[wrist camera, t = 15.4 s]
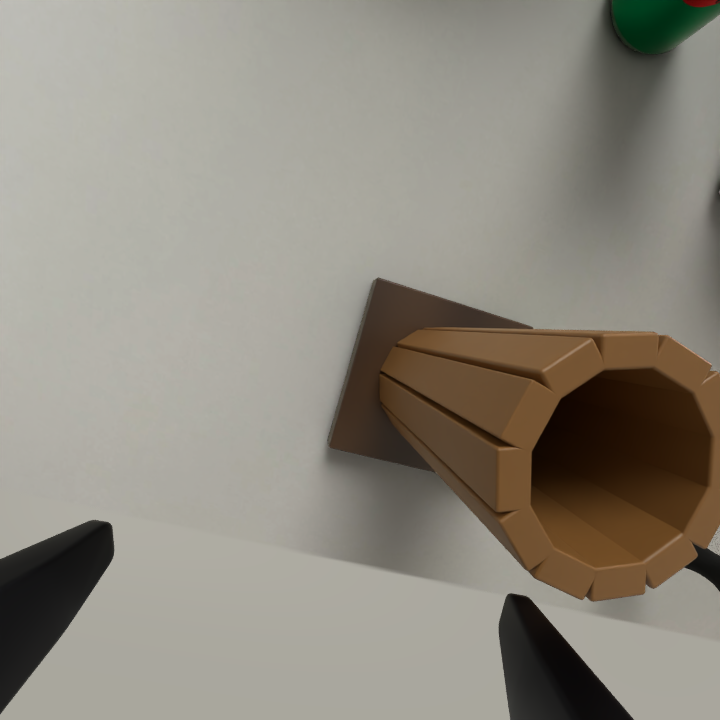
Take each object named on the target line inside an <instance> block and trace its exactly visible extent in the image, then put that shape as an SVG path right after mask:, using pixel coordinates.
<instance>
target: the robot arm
mask: <svg viewBox="0 0 720 720" xmlns="http://www.w3.org/2000/svg"><path fill="white" fill-rule="evenodd" d="M113 556H114V541H113V529H112V525H111V524H110V523H108V522H104V521H98V520H91V521H88V522H86V523H83V524H81V525H79V526H77V527H74V528H72V529H69V530H67V531H65V532H62V533H60V534H58V535H55V536H53V537H51V538H48V539H46V540H44V541H41V542H39V543H37V544H35V545H32V546H30V547H28V548H25V549H23V550H20V551H19V552H16V553H14V554H11V555H9V556H6V557H5V558H2V559H0V714H1V713H2V711H3V710H4V709H5V707H6V706H7V705H8V703H9V702H10V701H11V700H12V699H13V697H14V696H15V694H16V693H17V692H18V691H19V689H20V688H21V687H22V686H23V684H24V683H25V682H26V681H27V679H28V678H29V677H30V675H31V674H32V673H33V672H34V670H35V669H36V668H37V667H38V665H39V664H40V663H41V661H42V660H43V659H44V657H45V656H46V655H47V654H48V653H49V651H50V650H51V649H52V647H53V646H54V645H55V644H56V642H57V641H58V640H59V638H60V637H61V636H62V634H63V633H64V632H65V630H66V629H67V627H68V626H69V624H70V623H71V622H72V620H73V619H74V617H75V615H76V614H77V612H78V611H79V610H80V608H81V607H82V605H83V603H84V602H85V601H86V599H87V597H88V596H89V595H90V593H91V592H92V590H93V589H94V587H95V585H96V584H97V582H98V581H99V579H100V578H101V576H102V575H103V573H104V572H105V570H106V569H107V567H108V566H109V564H110V562H111V561H112V559H113ZM499 639H500V646H501V654H502V662H503V669H504V677H505V684H506V692H507V699H508V707H509V713H510V720H634V719H633V718H632V717H631V716H630V715H629V713H628V712H627V711H626V710H625V709H624V708H623V706H622V705H621V704H620V703H619V702H618V701H617V699H616V698H615V697H614V696H613V695H612V694H611V692H610V691H609V690H608V689H607V688H606V687H605V685H604V684H603V683H602V682H601V681H600V680H599V678H598V677H597V676H596V675H595V674H594V673H593V671H592V670H591V669H590V668H589V667H588V666H587V665H586V663H585V662H584V661H583V660H582V659H581V657H580V656H579V655H578V654H577V653H576V652H575V650H574V649H573V648H572V647H571V646H570V645H569V644H568V642H567V641H566V640H565V639H564V638H563V637H562V635H561V634H560V633H559V632H558V631H557V629H556V628H555V627H554V626H553V625H552V624H551V623H550V622H549V620H548V619H547V618H546V617H545V616H544V614H543V613H542V612H541V611H540V610H539V608H538V607H537V606H536V605H535V604H534V603H533V601H532V600H531V599H530V598H528V597H527V596H523V595H518V594H512V593H511V594H508V595H507V596H506V599H505V603H504V606H503V610H502V614H501V618H500V621H499Z"/></svg>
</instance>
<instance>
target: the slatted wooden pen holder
mask: <svg viewBox="0 0 720 720" xmlns="http://www.w3.org/2000/svg"><path fill="white" fill-rule="evenodd" d="M397 346H398V347H399V348H398V347H394V346H393V347H392V349H391V351H390V353H389V355H388V357H387V358H386V360H385V362H384V364H383V366H382V368H381V371H383V372H384V373H386V374H380V375H379V393H380V401H381V402H382V403H383V404H381V406H382V408H383V409H384V411H385V413H386V414H387V416H388V418H389V419H390V421H391V423H392V424H393V426H394V427H395V428H396V429H397V430H398V431H399V432H400V433H401V435H402V436H403V437H404V438H405V439H406V440H407V441H408V442H409V443H410V444H411V445H412V447H413V448H414V449H415V450H416V451H417V452H418V453H419V454H420V455H421V456H422V457H423V459H424V460H425V461H426V462H427V463H428V464H429V465H430V466H431V467H432V468H433V469H434V471H435V472H436V473H437V474H438V475H439V476H440V477H441V478H442V479H443V480H444V481H445V483H446V484H447V485H448V486H449V487H450V488H451V489H452V490H453V491H454V492H455V493H456V495H457V496H458V497H459V498H460V499H461V500H462V501H463V502H464V503H465V504H466V506H467V507H468V508H469V509H470V510H471V511H472V512H473V513H474V514H475V515H476V516H477V518H478V519H479V520H480V521H481V522H482V523H483V524H484V525H485V526H486V527H487V528H488V530H489V531H490V532H491V533H492V534H493V535H494V536H495V537H496V538H497V539H498V540H499V542H500V543H501V544H502V545H503V546H504V547H505V548H506V549H507V550H508V551H509V552H510V554H511V555H512V556H513V557H514V558H515V559H516V560H517V561H518V562H519V563H520V564H521V566H522V567H523V568H524V569H525V570H527V571H528V572H529V573H530V574H531V575H532V576H533V577H534V578H535V579H537V580H539V581H542V582H544V583H546V584H548V585H550V586H552V587H554V588H556V589H559V590H561V591H563V592H565V593H567V594H569V595H571V596H574V597H576V598H578V599H580V600H583V599H584V597H585V596H586V597H587V598H588V599H589V600H590V601H593V602H594V601H601V600H608V599H615V598H622V597H629V596H636V595H643V594H644V593H645V585H648V586H649V587H650V588H653V589H654V588H656V587H658V586H659V585H661V584H662V583H663V582H665V581H666V580H667V579H669V578H670V577H671V576H673V575H674V574H676V573H677V572H678V571H680V570H681V569H682V568H684V567H685V566H686V565H688V564H689V563H690V562H692V561H693V560H695V559H696V558H697V556H698V554H697V552H696V550H695V548H694V546H693V544H695V545H697V546H699V547H701V548H702V549H706V548H707V547H708V545H709V543H710V542H711V540H712V538H713V536H714V534H715V532H716V531H717V529H718V527H719V525H720V374H719V373H718V372H716V371H710V369H711V367H712V365H711V363H709V362H708V361H706V360H705V359H703V358H702V357H700V356H699V355H697V354H696V353H694V352H693V351H691V350H690V349H688V348H687V347H685V346H684V345H682V344H681V343H679V342H678V341H676V340H675V339H673V338H672V337H670V336H668V335H658V333H655V332H640V331H595V330H549V329H503V328H458V327H436V328H423V330H416V331H415V332H413V333H412V334H410V335H408V336H407V337H405V338H404V339H402V340H400V341H399V342H397ZM692 543H693V544H692Z"/></svg>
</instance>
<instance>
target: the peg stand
mask: <svg viewBox="0 0 720 720" xmlns="http://www.w3.org/2000/svg"><path fill="white" fill-rule="evenodd" d="M436 327H458V328H503V329H533V327H531V326H528V325H525V324H522V323H519V322H516V321H513V320H509V319H506V318H503V317H500V316H497V315H494V314H491V313H487V312H484V311H481V310H478V309H475V308H472V307H469V306H466V305H462V304H459V303H456V302H453V301H450V300H447V299H444V298H441V297H437V296H434V295H431V294H428V293H425V292H422V291H419V290H416V289H412V288H409V287H406V286H403V285H400V284H397V283H394V282H391V281H387V280H384V279H381V278H377V279H375V280H373V283H372V286H371V290H370V293H369V297H368V300H367V304H366V307H365V311H364V314H363V318H362V321H361V325H360V328H359V332H358V335H357V339H356V342H355V346H354V349H353V353H352V356H351V360H350V363H349V367H348V370H347V374H346V377H345V381H344V384H343V388H342V391H341V395H340V398H339V402H338V405H337V409H336V412H335V416H334V419H333V423H332V426H331V430H330V433H329V437H328V444H329V447H330V448H333V449H337V450H342V451H346V452H350V453H354V454H359V455H363V456H367V457H372V458H376V459H380V460H384V461H389V462H393V463H397V464H402V465H406V466H410V467H414V468H419V469H423V470H427V471H432V472H435V471H434V469H433V468H432V467H431V466H430V465H429V464H428V463H427V462H426V461H425V460H424V459H423V457H422V456H421V455H420V454H419V453H418V452H417V451H416V450H415V449H414V448H413V447H412V445H411V444H410V443H409V442H408V441H407V440H406V439H405V438H404V437H403V436H402V435H401V433H400V432H399V431H398V430H397V429H396V428H395V427H394V426H393V424H392V423H391V421H390V419H389V418H388V416H387V414H386V413H385V411H384V409H383V408H382V406H381V404H383V403H382V402H381V401H380V393H379V375H380V374H386V373H384V372H383V371H381V368H382V366H383V364H384V362H385V360H386V358H387V357H388V355H389V353H390V351H391V349H392V347H393V346H394V347H398V346H397V342H399V341H400V340H402V339H404V338H405V337H407V336H408V335H410V334H412V333H413V332H415V331H416V330H423V328H436ZM398 348H399V347H398Z"/></svg>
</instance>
